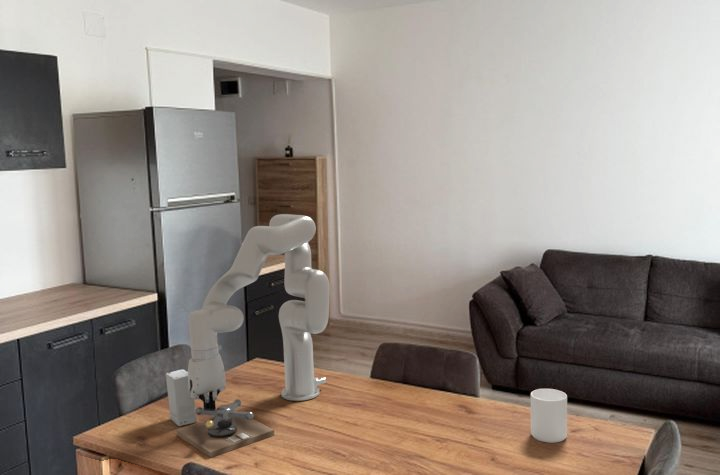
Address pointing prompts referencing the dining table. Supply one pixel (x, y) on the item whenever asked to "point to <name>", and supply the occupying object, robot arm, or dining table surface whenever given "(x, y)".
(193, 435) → the board
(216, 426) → the capstan
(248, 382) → the dining table surface
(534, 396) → the mug
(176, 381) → the skincare box
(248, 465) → the dining table surface
